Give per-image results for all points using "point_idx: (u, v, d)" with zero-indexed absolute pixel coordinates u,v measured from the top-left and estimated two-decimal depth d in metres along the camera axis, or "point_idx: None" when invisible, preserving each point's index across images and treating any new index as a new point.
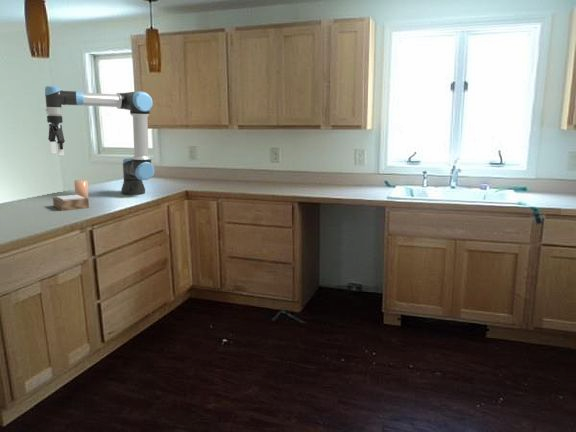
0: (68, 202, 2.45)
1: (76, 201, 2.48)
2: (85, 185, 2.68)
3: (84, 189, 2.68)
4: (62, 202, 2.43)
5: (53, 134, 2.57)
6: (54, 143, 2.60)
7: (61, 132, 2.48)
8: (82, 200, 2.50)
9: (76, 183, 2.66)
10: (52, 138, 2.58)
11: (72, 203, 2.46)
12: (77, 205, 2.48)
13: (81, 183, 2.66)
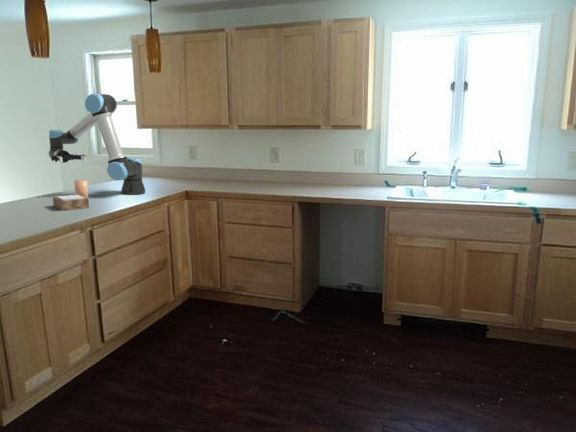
0: (68, 202, 2.45)
1: (76, 201, 2.48)
2: (85, 185, 2.68)
3: (84, 189, 2.68)
4: (62, 202, 2.43)
5: (74, 157, 2.83)
6: (81, 156, 2.81)
7: None
8: (82, 200, 2.50)
9: (76, 183, 2.66)
10: (78, 158, 2.83)
11: (72, 203, 2.46)
12: (77, 205, 2.48)
13: (81, 183, 2.66)
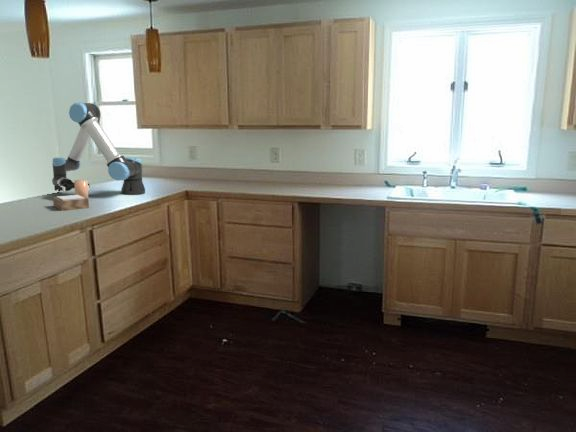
0: (68, 202, 2.45)
1: (76, 201, 2.48)
2: (85, 185, 2.68)
3: (84, 189, 2.68)
4: (62, 202, 2.43)
5: None
6: None
7: None
8: (82, 200, 2.50)
9: (76, 183, 2.66)
10: None
11: (72, 203, 2.46)
12: (77, 205, 2.48)
13: (81, 183, 2.66)
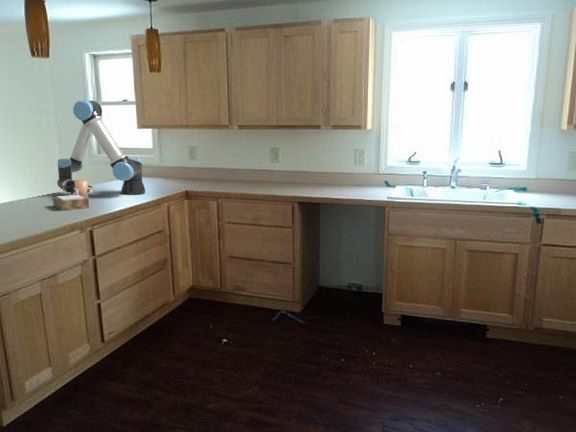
0: (68, 202, 2.45)
1: (76, 201, 2.48)
2: (85, 185, 2.68)
3: (84, 189, 2.67)
4: (62, 202, 2.43)
5: None
6: None
7: (65, 187, 2.71)
8: (82, 200, 2.50)
9: (76, 183, 2.66)
10: None
11: (72, 203, 2.46)
12: (77, 205, 2.48)
13: (81, 183, 2.66)
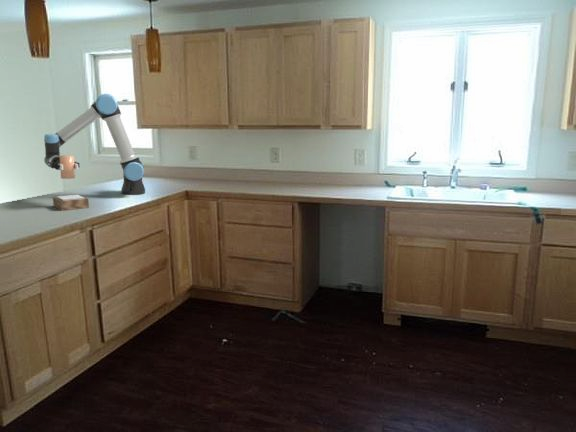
0: (68, 202, 2.45)
1: (76, 201, 2.48)
2: (71, 160, 2.49)
3: (70, 165, 2.49)
4: (62, 202, 2.43)
5: None
6: None
7: (50, 163, 2.52)
8: (82, 200, 2.50)
9: (61, 158, 2.47)
10: None
11: (72, 203, 2.46)
12: (77, 205, 2.48)
13: (66, 158, 2.47)
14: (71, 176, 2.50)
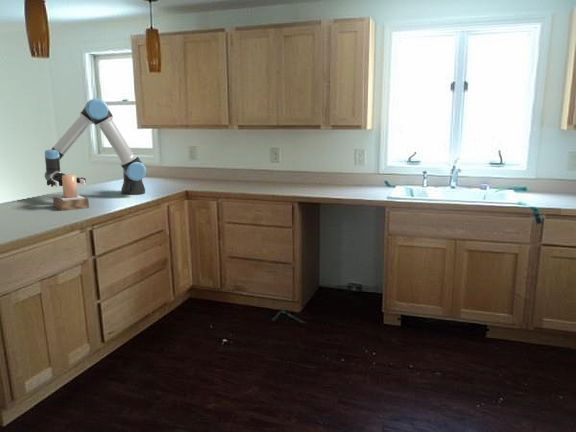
0: (68, 202, 2.45)
1: (76, 201, 2.48)
2: (73, 180, 2.49)
3: (72, 184, 2.48)
4: (62, 202, 2.43)
5: None
6: (80, 180, 2.56)
7: None
8: (82, 200, 2.50)
9: (64, 178, 2.46)
10: (77, 181, 2.58)
11: (72, 203, 2.46)
12: (77, 205, 2.48)
13: (69, 178, 2.47)
14: (74, 195, 2.50)
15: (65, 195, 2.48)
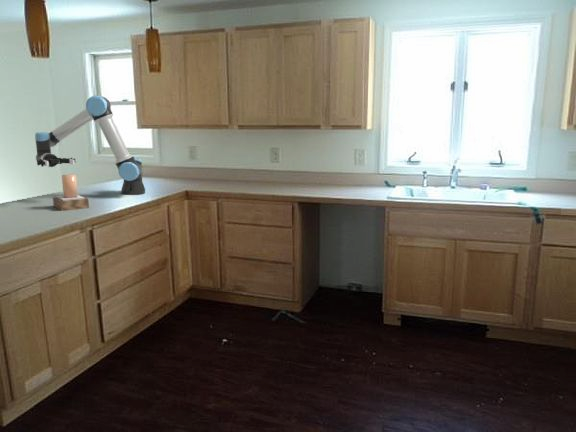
0: (68, 202, 2.45)
1: (76, 201, 2.48)
2: (73, 180, 2.49)
3: (72, 184, 2.48)
4: (62, 202, 2.43)
5: (62, 161, 2.65)
6: (69, 160, 2.63)
7: None
8: (82, 200, 2.50)
9: (64, 178, 2.46)
10: (67, 161, 2.65)
11: (72, 203, 2.46)
12: (77, 205, 2.48)
13: (69, 178, 2.47)
14: (74, 195, 2.50)
15: (65, 195, 2.48)
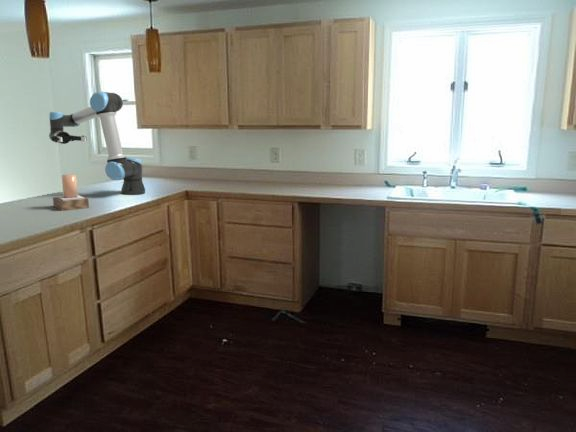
0: (68, 202, 2.45)
1: (76, 201, 2.48)
2: (73, 180, 2.49)
3: (72, 184, 2.48)
4: (62, 202, 2.43)
5: (74, 138, 2.85)
6: (81, 137, 2.83)
7: None
8: (82, 200, 2.50)
9: (64, 178, 2.46)
10: (78, 139, 2.85)
11: (72, 203, 2.46)
12: (77, 205, 2.48)
13: (69, 178, 2.47)
14: (74, 195, 2.50)
15: (65, 195, 2.48)
